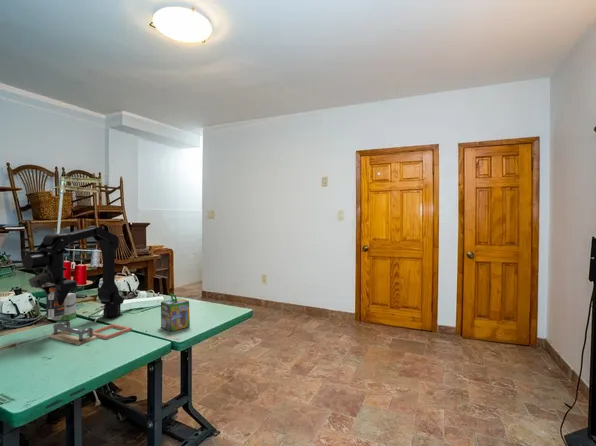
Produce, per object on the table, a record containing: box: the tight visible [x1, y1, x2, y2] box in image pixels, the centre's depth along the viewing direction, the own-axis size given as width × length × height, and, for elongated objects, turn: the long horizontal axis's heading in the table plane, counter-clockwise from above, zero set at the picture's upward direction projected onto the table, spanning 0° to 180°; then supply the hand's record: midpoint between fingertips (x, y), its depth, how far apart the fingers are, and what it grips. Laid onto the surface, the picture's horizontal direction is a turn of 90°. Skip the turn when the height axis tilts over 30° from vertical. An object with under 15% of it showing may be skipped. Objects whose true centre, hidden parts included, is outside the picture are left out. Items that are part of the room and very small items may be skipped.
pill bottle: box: [45, 287, 65, 318], centre depth 133 cm, size 6×6×11 cm
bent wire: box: [52, 320, 94, 341], centre depth 132 cm, size 6×18×5 cm, turn 66°
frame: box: [87, 323, 133, 341], centre depth 137 cm, size 11×11×1 cm
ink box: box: [51, 292, 77, 321], centre depth 155 cm, size 9×5×12 cm, turn 84°
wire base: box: [48, 330, 97, 346], centre depth 132 cm, size 8×19×1 cm, turn 66°
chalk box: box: [160, 292, 191, 333], centre depth 145 cm, size 9×9×15 cm
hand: (55, 304), depth 133 cm, fingers closed on pill bottle, 6 cm apart
